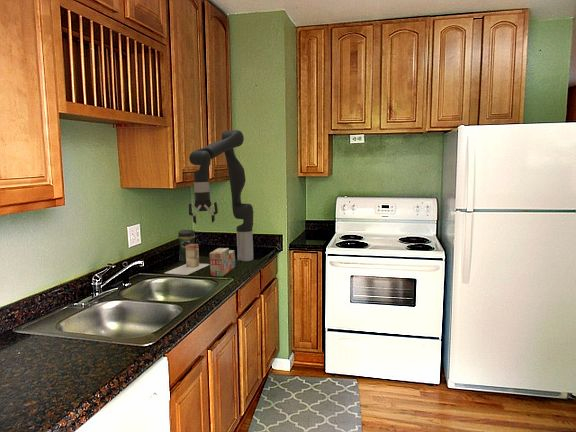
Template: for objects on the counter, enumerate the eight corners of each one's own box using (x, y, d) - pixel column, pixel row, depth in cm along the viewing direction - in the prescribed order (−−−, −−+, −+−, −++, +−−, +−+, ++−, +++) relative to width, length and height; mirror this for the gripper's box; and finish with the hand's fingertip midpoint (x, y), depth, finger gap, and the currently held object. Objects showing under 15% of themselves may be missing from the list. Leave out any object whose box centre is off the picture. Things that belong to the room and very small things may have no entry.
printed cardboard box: (224, 266, 241) (223, 244, 239) (235, 266, 239) (234, 244, 238) (210, 276, 220) (209, 252, 218) (222, 276, 218) (221, 252, 217)
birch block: (191, 265, 242) (190, 243, 240) (199, 265, 240) (198, 244, 238) (186, 267, 237) (185, 245, 235) (194, 267, 235) (193, 245, 234)
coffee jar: (198, 259, 259) (196, 228, 257) (194, 262, 251) (192, 230, 249) (182, 259, 260) (180, 228, 258) (178, 262, 252) (176, 231, 250)
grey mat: (189, 264, 247) (188, 262, 247) (210, 265, 243) (210, 264, 243) (163, 274, 225) (163, 273, 225) (186, 276, 220) (186, 274, 220)
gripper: (216, 189, 222) (218, 221, 224) (188, 191, 220) (190, 222, 223) (216, 191, 214) (217, 223, 217) (186, 192, 213) (188, 224, 215)
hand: (204, 222), depth 220 cm, fingers open, 8 cm apart
